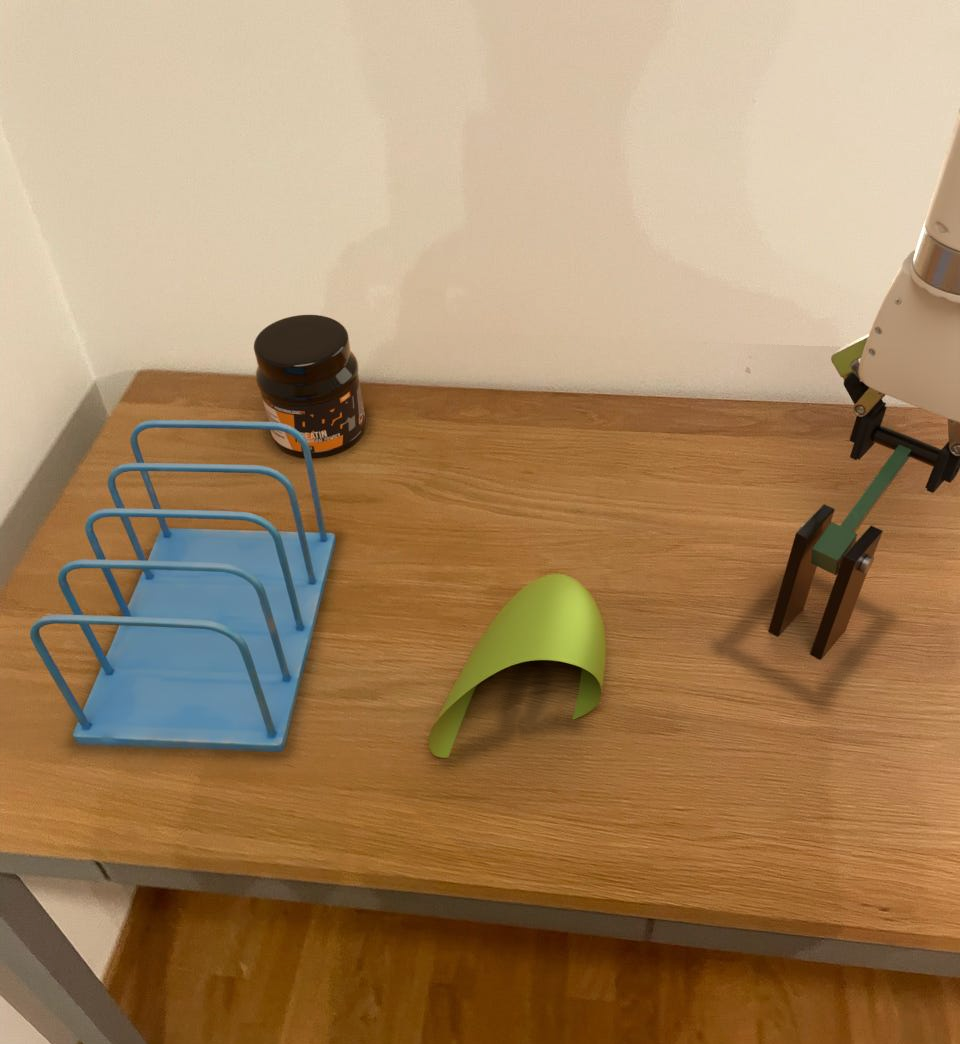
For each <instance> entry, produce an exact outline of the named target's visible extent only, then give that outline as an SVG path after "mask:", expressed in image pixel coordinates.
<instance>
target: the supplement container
mask: <svg viewBox="0 0 960 1044" xmlns="http://www.w3.org/2000/svg"><path fill="white" fill-rule="evenodd" d="M253 352H254V355H255V356H254V357H255V360H256V363H257V367H256V371H255V380H256V384H257V387H258V388H259V390H260V395H261V397H262V398H261V399H262V403H263V406H264V411H265V415H266V419H267V422H276V423H283V424H286V425H289V426H291V427H293V428H294V429H296V430H297V431H299V432H300V433H301V434H302V435H303V436H304V437H305V439H306V441H307V442H308V445H309V448H310V452H311V457H312V460H315V459H324V458H330V457H333V456H336V455H339V454H341V453H343V452H346V451H348V450H349V449H351V448H352V447H354V446H355V445H356V444H358V443H359V442H360V441H361V439H362V438H363V437H364V435H365V433H366V430H367V417H366V413H365V408H364V401H363V396H362V389H361V383H360V377H359V363H358V359H357V357H356V356H355V354H354V352H353V351H352V350H351V345H350V338H349V333H348V330H347V329H346V327H345V326H344V325H343V324H342V323H341V322H339V321H338V320H336V319H334V318H332V317H328V316H325V315H319V314H299V315H292V316H288V317H284V318H281V319H279V320H276V321H274V322H272V323H270V324H269V325H267V326H266V327H264V328H263V329H262V330H261V331H260V332H259V333H258V335H257V336H256V337H255V340H254V342H253ZM269 434H270V438H271V440H272V443H273V444H274V445H275V446H276V448H277V449H278V450H279V451H281V452H282V453H284V454H286V455H288V456H291V457H295V458H299V459H305V457H304V453H303V449H302V446H301V444H300V443H299V442H298V440H297V439H296V438H294V437H293V436H292V435H290V434H288V433H285V432H282V431H278V430H269Z"/></svg>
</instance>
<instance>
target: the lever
mask: <svg viewBox="0 0 960 1044" xmlns="http://www.w3.org/2000/svg"><path fill="white" fill-rule="evenodd" d="M871 441H872V442H875V443H874V444H877V445H879V446H882V447H884V448H886V449H887V448H888V449H889V450H892V451H893V452H892V453H891V455H890V456H889V457H888V459H887V460H886V461H885V462H884V464H883V465H882V467H881V468H880V470H879V471H878V473H877V474H876V475H875V477H874V478H873V480H872V481H871V482H870V484H869V485H868V486H867V487H866V489H865V490H864V492H863V493H862V494H861V496H860V497H859V499H858V500H857V501H856V503H855V504H854V506H853V507H852V508H851V509H850V511H849V512H848V514H847V515H846V517H845V518H844V519H843V521H842V522H841V523H840V524H838V523H835V522H833V521H831V523H830V524H829V526H828V527H827V529H826V530H825V531H824V533H823V534H822V535H821V537H820V538H819V540H818V541H817V542H816V544H815V545H814V546H813V548H812V558H811V563H812V564H814V565H816V566H817V568H820V569H822V570H824V571H826V572H828V573H830V574H832V575H834V576H837V574H838V571H839V568H840V565H841V562H842V559H843V556H844V555H845V554H846V553H847V552H848V550H849V549H850V548H851V547H852V546H853V545H854V544H855V543H856V542H857V538H858V533H857V531H858V530H859V529H860V527H861V526H862V524H863V523H864V522H865V521H866V519H867V518H868V516H869V514H870V513H871V512H872V510H873V509H874V508H875V506H876V505H877V503H878V502H879V501H880V500H881V498H882V497H883V495H885V493H886V492H887V490H888V488H889V487H890V485H891V484H892V483H893V481H894V480H895V478H896V477H897V476H898V474H899V473H900V471H901V470H902V469H903V467H904V466H905V465H906V464H907V462H908V460H909V459H910V458H911V459H912V460H913V459H914V460H916V461H919V462H921V463H922V464H925V465H927V466H931V467H932V468H933V467H934V464H935V462H936V459H937V456H938V454H939V452H940V451H941V449H942V448H939V447H936V446H934V445H932V444H929V443H927V442H924V441H923V440H919V439H917V438H914V437H912V436H910V435H907V434H905V433H902V432H900V431H897V430H894V429H892V428H890V427H887V426H885V425H883V424H881V425H879V426H878V427H877V428H876V430H875V431H874V433H873V436H872V439H871Z"/></svg>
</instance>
